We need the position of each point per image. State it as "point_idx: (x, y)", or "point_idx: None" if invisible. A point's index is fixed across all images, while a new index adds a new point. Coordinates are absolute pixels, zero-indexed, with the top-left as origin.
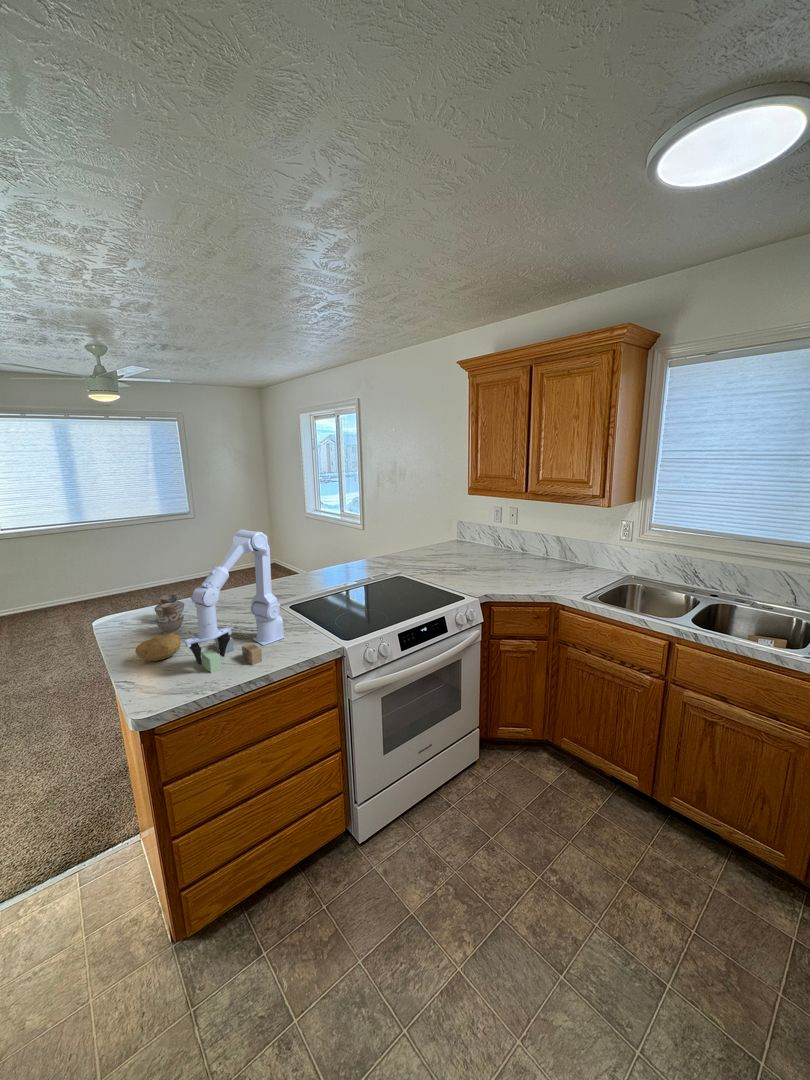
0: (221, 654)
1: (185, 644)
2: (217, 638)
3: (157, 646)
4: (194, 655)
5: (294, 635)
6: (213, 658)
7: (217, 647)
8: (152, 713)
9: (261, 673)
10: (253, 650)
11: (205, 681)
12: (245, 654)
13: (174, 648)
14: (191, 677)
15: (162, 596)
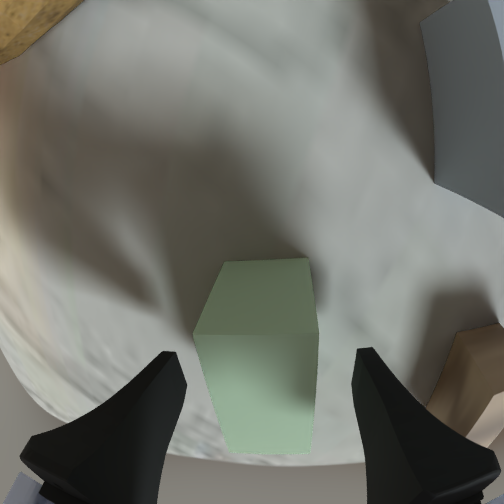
0: (355, 386)
1: (18, 486)
2: (491, 50)
3: None
4: (120, 392)
5: None
6: (256, 452)
7: (431, 49)
8: (58, 416)
9: None
10: None
11: (198, 412)
12: (459, 390)
13: (30, 21)
14: (141, 347)
15: None
